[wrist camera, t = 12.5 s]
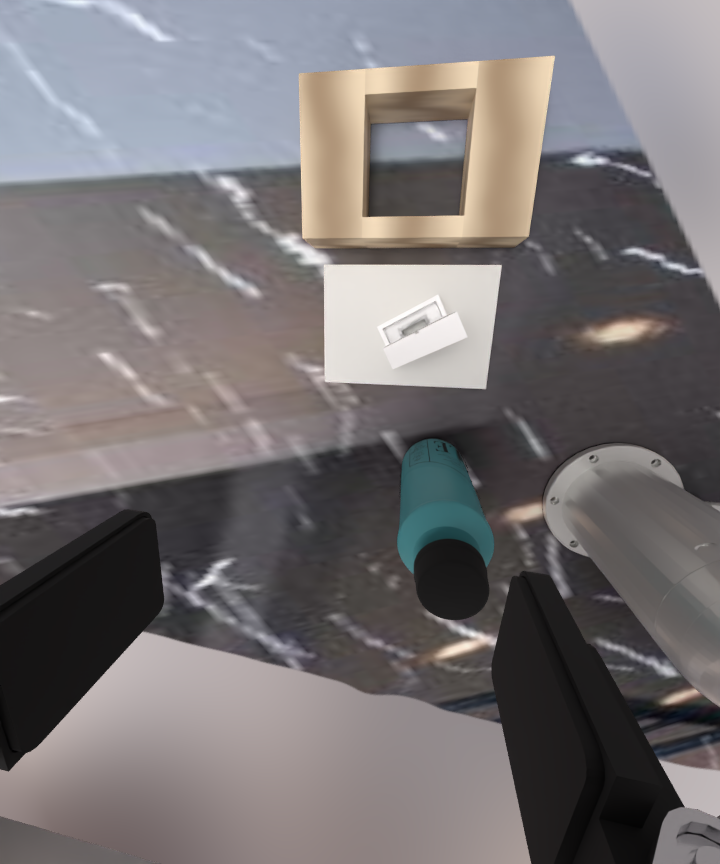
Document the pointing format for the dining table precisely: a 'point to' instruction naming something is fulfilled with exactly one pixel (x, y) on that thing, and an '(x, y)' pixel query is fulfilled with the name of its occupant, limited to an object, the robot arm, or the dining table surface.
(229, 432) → the dining table surface
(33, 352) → the dining table surface
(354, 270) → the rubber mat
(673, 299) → the dining table surface
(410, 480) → the beverage bottle
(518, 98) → the block
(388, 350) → the white angled block
